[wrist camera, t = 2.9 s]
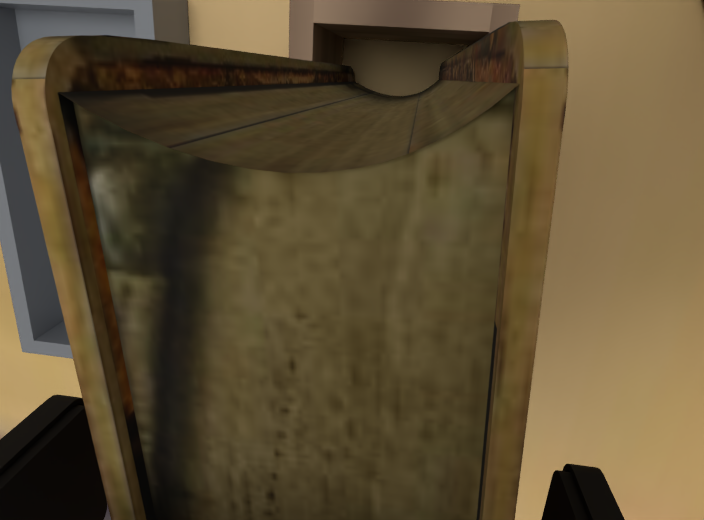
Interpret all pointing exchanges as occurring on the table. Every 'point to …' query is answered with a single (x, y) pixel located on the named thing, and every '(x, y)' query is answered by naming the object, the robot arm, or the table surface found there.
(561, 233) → the table surface
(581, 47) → the table surface
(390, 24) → the frame
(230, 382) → the book
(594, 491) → the robot arm
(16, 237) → the tray
